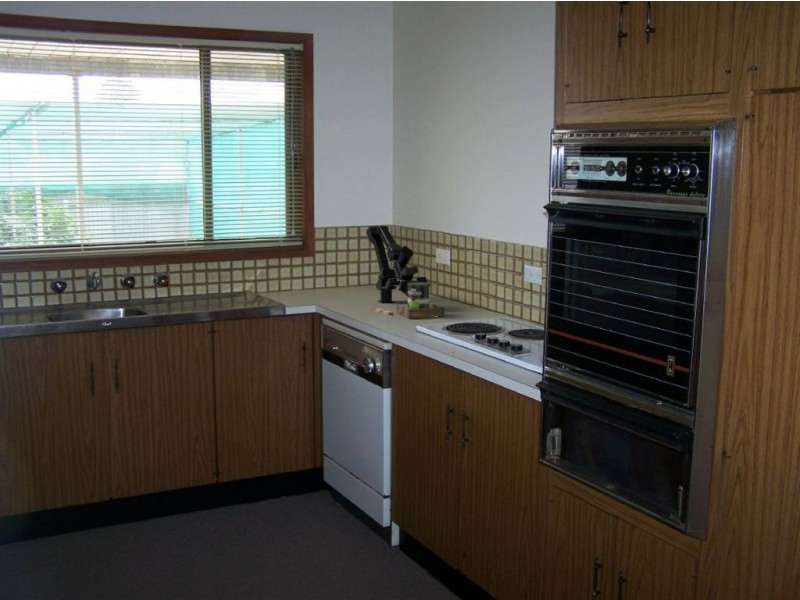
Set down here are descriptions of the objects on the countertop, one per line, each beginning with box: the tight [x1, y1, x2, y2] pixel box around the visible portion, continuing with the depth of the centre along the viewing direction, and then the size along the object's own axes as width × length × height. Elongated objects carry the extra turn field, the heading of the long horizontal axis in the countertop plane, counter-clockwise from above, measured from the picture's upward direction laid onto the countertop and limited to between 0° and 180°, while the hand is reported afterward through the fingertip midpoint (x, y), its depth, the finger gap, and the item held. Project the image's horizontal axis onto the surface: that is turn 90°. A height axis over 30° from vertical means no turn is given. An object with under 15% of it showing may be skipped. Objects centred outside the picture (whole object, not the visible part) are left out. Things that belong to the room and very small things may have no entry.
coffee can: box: [407, 281, 432, 309], centre depth 405 cm, size 10×10×14 cm
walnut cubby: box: [396, 301, 445, 320], centre depth 405 cm, size 15×16×4 cm
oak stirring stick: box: [372, 307, 394, 316], centre depth 412 cm, size 14×2×2 cm, turn 32°
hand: (411, 298), depth 414 cm, fingers closed
